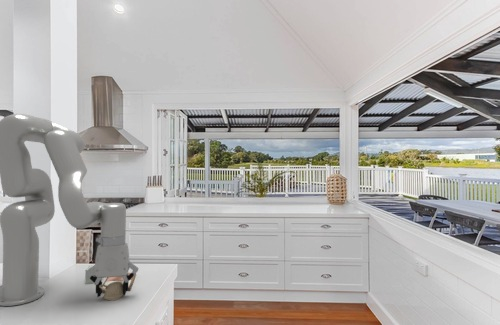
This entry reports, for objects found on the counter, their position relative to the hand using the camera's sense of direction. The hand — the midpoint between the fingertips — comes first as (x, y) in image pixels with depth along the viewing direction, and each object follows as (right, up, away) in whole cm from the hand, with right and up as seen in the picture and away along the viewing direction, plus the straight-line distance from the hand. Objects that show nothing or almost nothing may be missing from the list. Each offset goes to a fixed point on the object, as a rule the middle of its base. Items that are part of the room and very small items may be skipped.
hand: (112, 294), depth 102 cm
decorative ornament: (0, -2, 0) cm, 2 cm away
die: (-13, -1, +15) cm, 20 cm away
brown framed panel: (-3, -1, +13) cm, 13 cm away
